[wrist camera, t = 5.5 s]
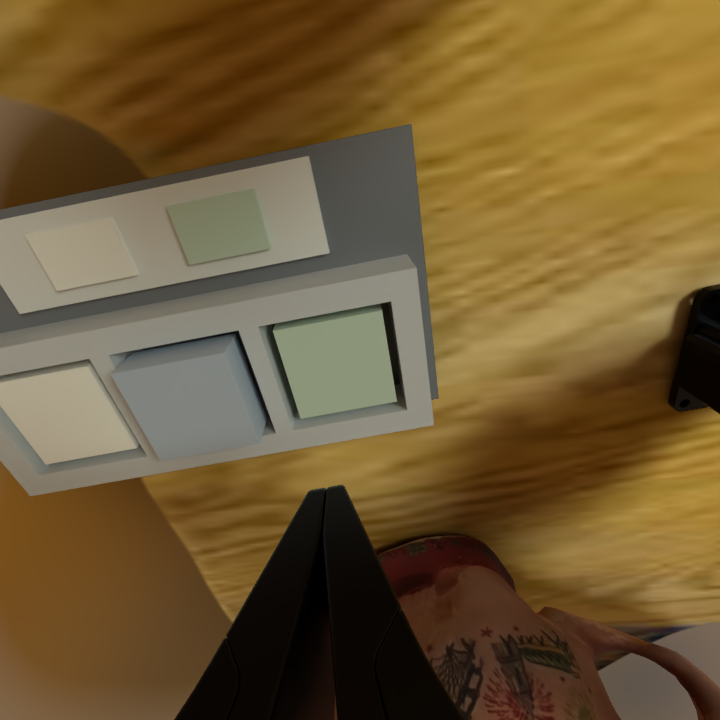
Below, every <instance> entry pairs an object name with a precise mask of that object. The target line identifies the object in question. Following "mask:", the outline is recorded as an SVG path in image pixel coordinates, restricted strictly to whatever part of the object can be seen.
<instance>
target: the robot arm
mask: <svg viewBox="0 0 720 720" xmlns="http://www.w3.org/2000/svg"><path fill="white" fill-rule="evenodd" d="M710 297H711V298H710ZM709 298H710V299H709ZM708 299H709V300H708ZM668 404H669V405H670V406H671V407H672V408H673V409H675V410H676V411H679V412H682V411H688V410H694V409H700V408H705V407H710V408H711V409H713V410H714V411H716V412H717V413H719V414H720V284H719V285H714V286H709V287H706V288H703V289H702V290H700V291H699V292H698V293H697V294H696V296H695V298H694V301H693V305H692V309H691V313H690V317H689V321H688V325H687V329H686V333H685V337H684V341H683V345H682V349H681V353H680V357H679V361H678V365H677V368H676V372H675V376H674V380H673V384H672V388H671V392H670V396H669V400H668ZM335 696H336V708H337V720H465V719H464V718H463V716H462V715H461V713H460V711H459V710H458V708H457V707H456V705H455V703H454V702H453V700H452V699H451V697H450V696H449V694H448V692H447V691H446V689H445V688H444V686H443V684H442V683H441V681H440V679H439V678H438V676H437V674H436V673H435V671H434V669H433V667H432V666H431V664H430V662H429V661H428V659H427V657H426V656H425V654H424V652H423V650H422V648H421V646H420V644H419V642H418V640H417V638H416V636H415V634H414V632H413V630H412V628H411V626H410V624H409V622H408V620H407V617H406V615H405V613H404V611H403V610H402V608H401V605H400V603H399V601H398V599H397V597H396V595H395V592H394V590H393V588H392V586H391V584H390V582H389V580H388V578H387V575H386V573H385V571H384V569H383V567H382V565H381V563H380V561H379V558H378V556H377V554H376V552H375V550H374V548H373V546H372V544H371V542H370V539H369V537H368V535H367V533H366V531H365V529H364V527H363V525H362V522H361V520H360V518H359V516H358V514H357V512H356V510H355V508H354V505H353V503H352V501H351V499H350V497H349V495H348V493H347V491H346V489H345V487H344V486H343V485H338V486H332V487H328V488H327V489H325V488H321V489H315V490H310V491H309V492H308V493H307V495H306V497H305V498H304V500H303V502H302V504H301V505H300V507H299V509H298V511H297V512H296V514H295V516H294V518H293V519H292V521H291V523H290V525H289V526H288V528H287V530H286V532H285V533H284V535H283V537H282V539H281V540H280V542H279V544H278V546H277V547H276V549H275V551H274V553H273V554H272V556H271V558H270V559H269V561H268V563H267V565H266V566H265V568H264V570H263V572H262V573H261V575H260V577H259V579H258V580H257V582H256V584H255V586H254V587H253V589H252V591H251V593H250V594H249V596H248V598H247V600H246V601H245V603H244V605H243V607H242V608H241V610H240V612H239V614H238V615H237V617H236V619H235V621H234V622H233V624H232V626H231V628H230V629H229V631H228V633H227V638H225V639H224V640H223V641H222V643H221V645H220V647H219V648H218V650H217V652H216V654H215V655H214V657H213V659H212V660H211V662H210V664H209V665H208V667H207V669H206V670H205V672H204V674H203V676H202V677H201V679H200V680H199V682H198V684H197V685H196V687H195V689H194V690H193V692H192V693H191V695H190V696H189V698H188V699H187V701H186V703H185V704H184V706H183V707H182V709H181V710H180V712H179V713H178V715H177V716H176V718H175V719H174V720H334V716H335Z"/></svg>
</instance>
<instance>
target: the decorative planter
mask: <svg viewBox="0 0 720 720" xmlns="http://www.w3.org/2000/svg"><path fill="white" fill-rule="evenodd" d="M378 558H379V561H380V563H381V565H382V567H383V569H384V571H385V573H386V575H387V578H388V580H389V582H390V584H391V586H392V588H393V590H394V592H395V595H396V597H397V599H398V601H399V603H400V605H401V608H402V610H403V611H404V613H405V615H406V617H407V620H408V622H409V624H410V626H411V628H412V630H413V632H414V634H415V636H416V638H417V640H418V642H419V644H420V646H421V648H422V650H423V652H424V654H425V656H426V657H427V659H428V661H429V662H430V664H431V666H432V667H433V669H434V671H435V673H436V674H437V676H438V678H439V679H440V681H441V683H442V684H443V686H444V688H445V689H446V691H447V692H448V694H449V696H450V697H451V699H452V700H453V702H454V703H455V705H456V707H457V708H458V710H459V711H460V713H461V715H462V716H463V718H464V719H465V720H621V719H620V717H619V716H618V714H617V713H616V711H615V709H614V708H613V705H612V703H611V702H610V699H609V697H608V695H607V692H606V690H605V688H604V685H603V683H602V681H601V679H600V677H599V674H598V672H597V670H596V667H595V665H594V664H595V662H596V660H597V658H598V657H600V656H601V655H603V654H604V653H606V652H610V651H625V652H630V653H634V654H637V655H640V656H643V657H646V658H648V659H650V660H652V661H653V662H656V663H657V664H658V665H660V666H661V667H663V668H664V669H666V670H667V671H669V672H670V673H671V674H673V675H674V676H676V678H677V679H678V681H679V682H680V684H681V685H682V686H683V687H684V688H685V689H686V690H687V691H688V693H689V695H690V697H691V699H692V701H693V704H694V706H695V708H696V711H697V715H698V720H720V688H719V687H718V686H717V685H716V684H715V683H714V682H713V681H712V680H711V679H710V678H709V677H708V676H707V675H706V674H704V673H703V672H702V671H701V670H699V669H698V668H697V667H696V666H695V665H693V664H692V663H691V662H690V661H689V660H687V659H686V658H685V657H683V656H682V655H680V654H678V653H677V652H675V651H673V650H670V649H668V648H665V647H662V646H659V645H656V644H652V643H648V642H644V641H642V640H640V639H638V638H636V637H634V636H631V635H629V634H626V633H623V632H621V631H618V630H615V629H612V628H610V627H607V626H605V625H602V624H600V623H597V622H595V621H592V620H589V619H585V618H582V617H579V616H575V615H572V614H569V613H567V612H564V611H562V610H558V609H555V608H552V607H544V608H543V609H542V610H541V611H540V612H538V613H535V612H534V611H533V610H532V609H531V608H530V607H529V606H528V605H527V603H526V602H525V601H524V600H523V599H522V598H521V597H520V596H519V595H518V594H517V593H516V590H515V586H514V582H513V580H512V578H511V576H510V574H509V573H508V571H507V570H506V568H505V567H504V566H503V564H502V563H501V562H500V560H499V559H498V557H497V556H496V555H495V553H494V552H493V551H492V550H491V549H490V548H489V547H488V546H487V545H486V544H484V543H483V542H481V541H480V540H477V539H474V538H471V537H467V536H437V537H428V538H422V539H418V540H415V541H412V542H409V543H406V544H404V545H401V546H398V547H396V548H393V549H390V550H388V551H385V552H383V553H381V554H379V555H378ZM334 720H337V708H336V696H335V716H334Z"/></svg>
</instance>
